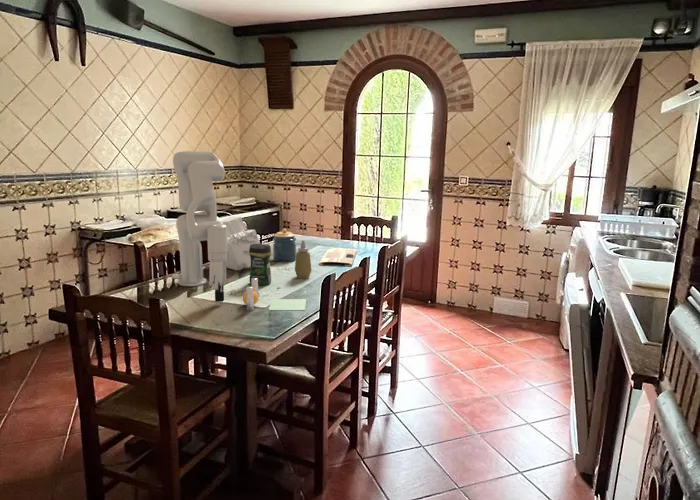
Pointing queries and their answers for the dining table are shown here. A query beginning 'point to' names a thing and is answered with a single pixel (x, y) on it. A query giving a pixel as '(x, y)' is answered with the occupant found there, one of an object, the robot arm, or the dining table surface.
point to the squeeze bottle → (303, 262)
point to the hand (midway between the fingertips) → (219, 300)
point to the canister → (284, 246)
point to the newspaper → (339, 256)
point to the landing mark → (287, 304)
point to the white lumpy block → (239, 243)
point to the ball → (253, 297)
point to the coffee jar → (260, 263)
